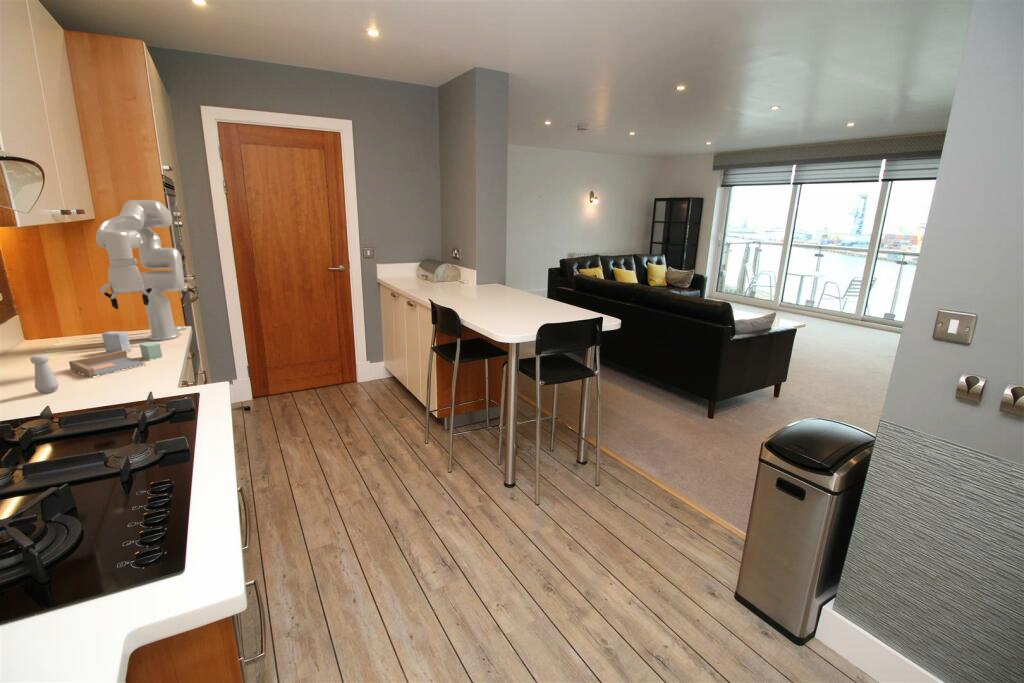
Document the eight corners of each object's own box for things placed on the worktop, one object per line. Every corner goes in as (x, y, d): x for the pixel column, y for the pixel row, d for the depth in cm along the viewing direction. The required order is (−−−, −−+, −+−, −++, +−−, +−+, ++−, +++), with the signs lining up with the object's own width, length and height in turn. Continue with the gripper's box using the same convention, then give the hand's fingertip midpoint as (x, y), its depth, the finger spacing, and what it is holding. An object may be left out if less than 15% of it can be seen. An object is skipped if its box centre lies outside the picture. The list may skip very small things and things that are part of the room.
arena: (125, 357, 202) (124, 350, 201) (146, 365, 193) (144, 357, 192) (70, 369, 187) (68, 361, 186) (89, 378, 178) (87, 369, 177)
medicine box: (131, 350, 211) (127, 331, 209) (122, 353, 207) (118, 334, 205) (115, 350, 212) (110, 331, 210) (105, 353, 208) (101, 333, 206)
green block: (154, 355, 206) (151, 341, 204) (162, 357, 202) (159, 343, 201) (142, 357, 202) (139, 343, 201) (150, 360, 199) (147, 346, 197)
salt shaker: (53, 387, 169) (44, 352, 165) (63, 390, 167) (54, 353, 163) (32, 393, 163) (22, 356, 160) (42, 396, 161) (32, 358, 158)
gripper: (146, 261, 198) (154, 302, 202) (91, 264, 185) (101, 308, 189) (151, 262, 193) (160, 304, 198) (96, 266, 180) (106, 311, 185)
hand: (131, 306), depth 194 cm, fingers open, 9 cm apart
